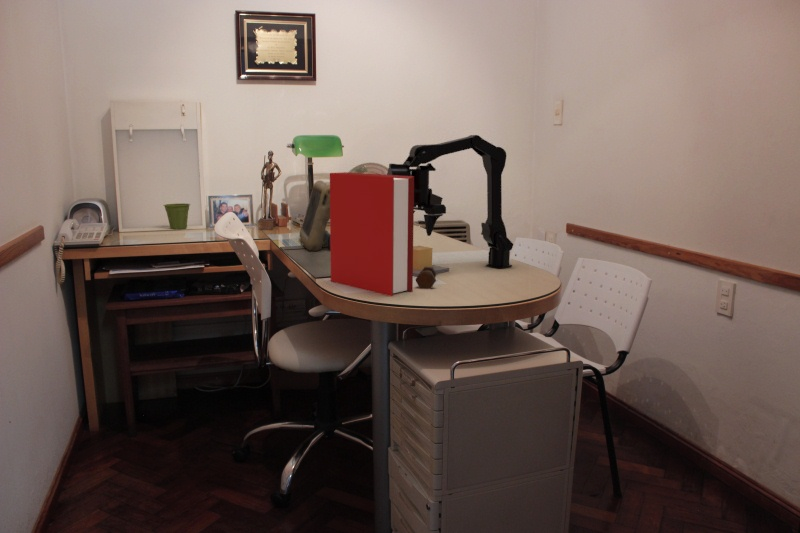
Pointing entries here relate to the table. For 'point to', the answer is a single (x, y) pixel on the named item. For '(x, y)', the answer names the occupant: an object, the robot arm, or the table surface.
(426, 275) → the bolt
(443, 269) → the junction plate
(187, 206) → the plant pot
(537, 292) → the table surface
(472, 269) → the table surface
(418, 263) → the wooden toy cube
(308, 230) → the rugged handheld device
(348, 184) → the book
